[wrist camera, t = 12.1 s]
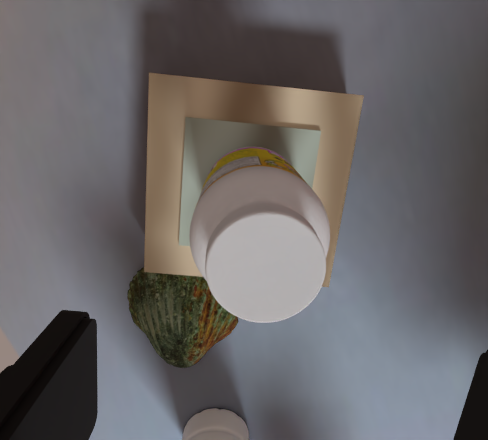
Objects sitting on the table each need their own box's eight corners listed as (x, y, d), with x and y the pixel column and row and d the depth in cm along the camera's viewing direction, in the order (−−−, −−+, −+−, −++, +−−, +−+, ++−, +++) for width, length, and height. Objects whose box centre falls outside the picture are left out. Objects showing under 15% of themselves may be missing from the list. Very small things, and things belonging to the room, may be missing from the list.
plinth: (347, 95, 29) (365, 95, 25) (318, 265, 34) (329, 288, 29) (160, 75, 29) (148, 72, 25) (154, 251, 33) (143, 273, 29)
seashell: (244, 281, 30) (230, 389, 33) (247, 259, 33) (234, 357, 36) (114, 263, 30) (112, 372, 33) (132, 244, 34) (129, 343, 37)
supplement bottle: (312, 217, 28) (374, 312, 15) (226, 251, 28) (221, 368, 16) (278, 128, 26) (319, 157, 14) (187, 166, 26) (148, 227, 14)
